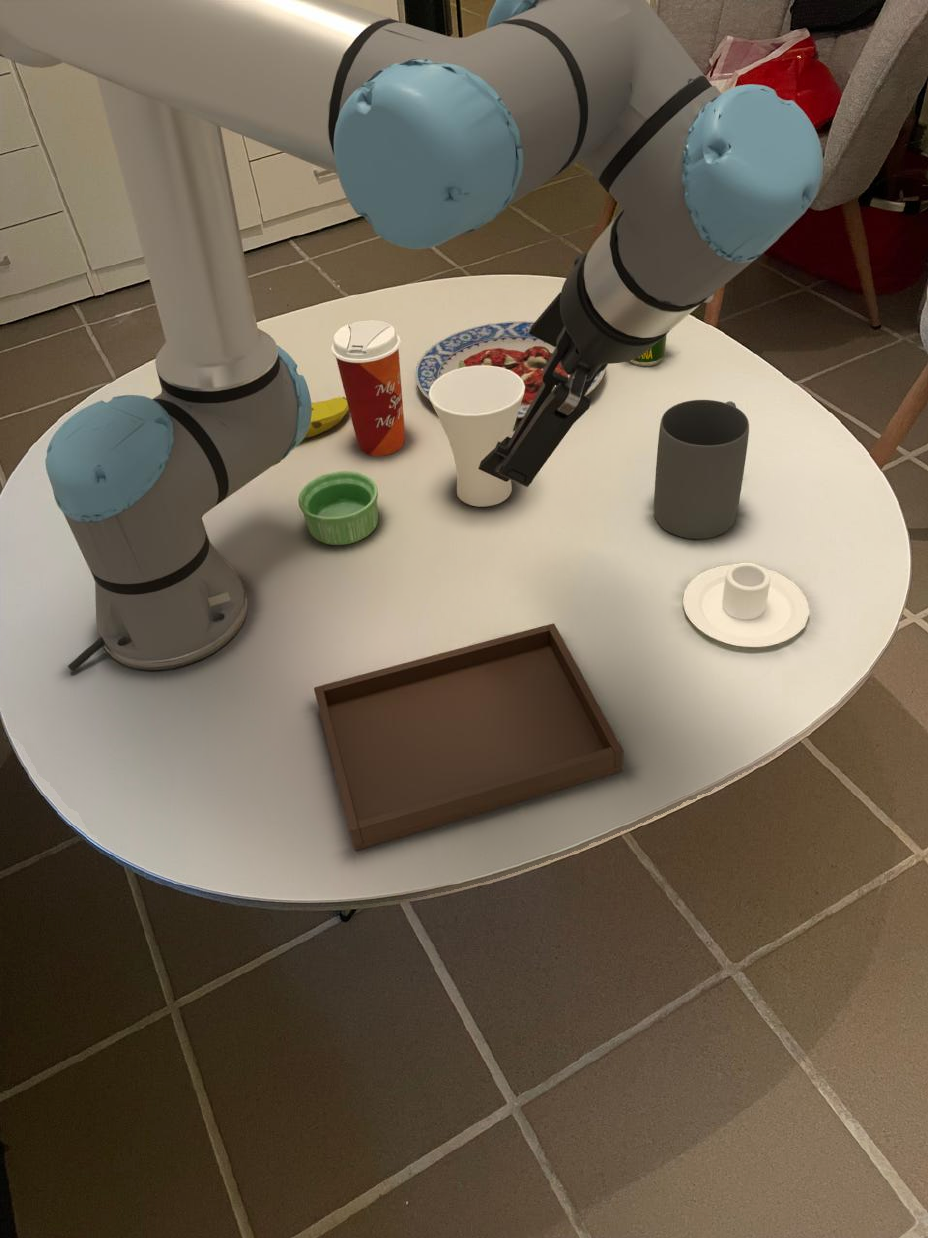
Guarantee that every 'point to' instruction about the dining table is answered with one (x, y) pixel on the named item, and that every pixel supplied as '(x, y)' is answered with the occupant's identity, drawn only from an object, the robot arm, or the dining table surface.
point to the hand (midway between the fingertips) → (518, 403)
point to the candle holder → (746, 605)
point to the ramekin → (340, 507)
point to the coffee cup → (372, 384)
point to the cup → (477, 424)
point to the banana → (326, 415)
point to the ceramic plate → (492, 356)
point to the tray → (463, 734)
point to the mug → (700, 467)
